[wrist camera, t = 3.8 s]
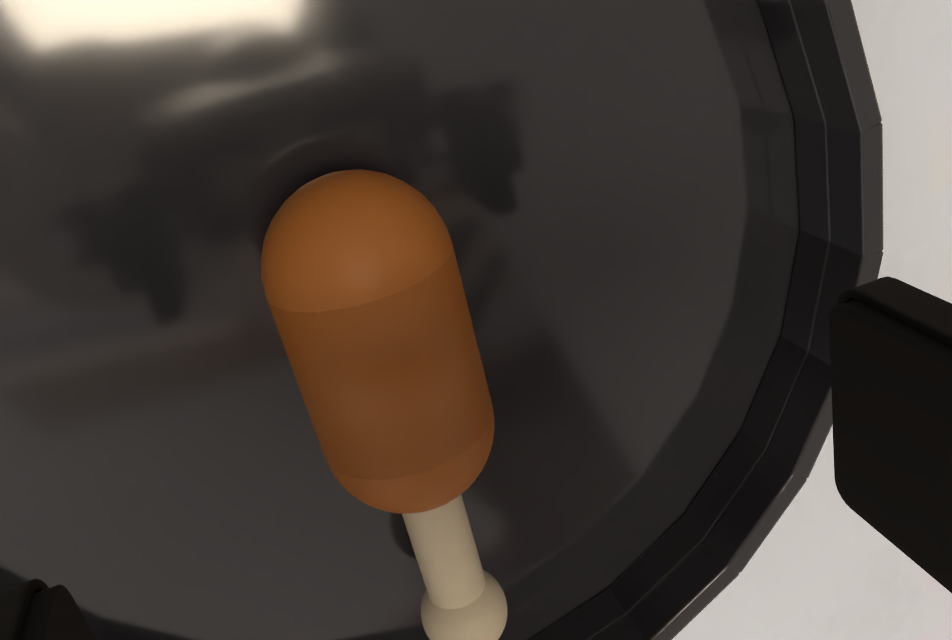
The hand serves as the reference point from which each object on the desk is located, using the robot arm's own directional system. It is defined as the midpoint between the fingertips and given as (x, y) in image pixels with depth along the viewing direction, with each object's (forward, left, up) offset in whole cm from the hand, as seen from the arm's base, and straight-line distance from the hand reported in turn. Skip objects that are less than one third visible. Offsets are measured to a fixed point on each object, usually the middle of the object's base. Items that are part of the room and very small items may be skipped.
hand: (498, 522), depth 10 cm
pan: (0, 0, -8) cm, 8 cm away
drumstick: (0, -2, -7) cm, 7 cm away
